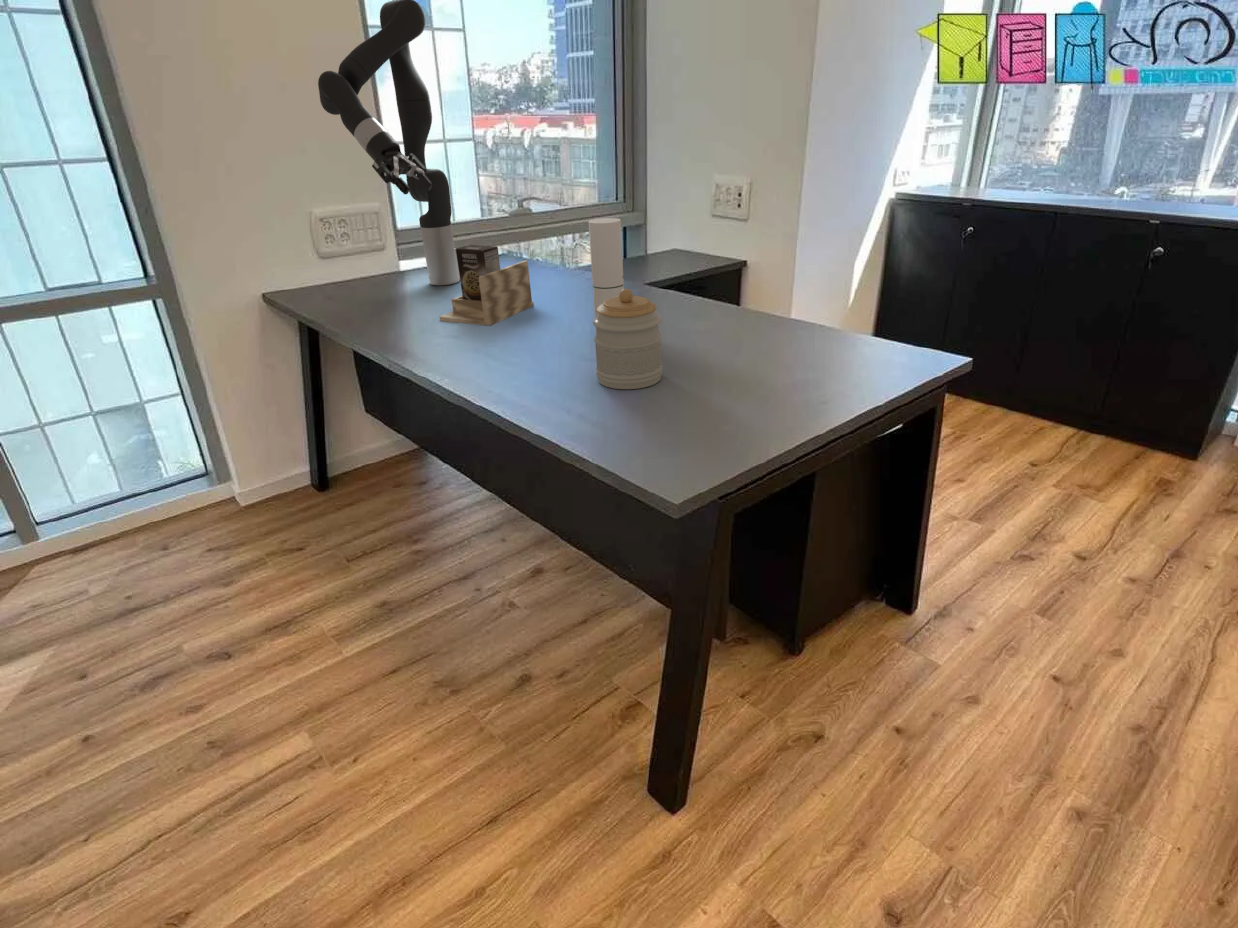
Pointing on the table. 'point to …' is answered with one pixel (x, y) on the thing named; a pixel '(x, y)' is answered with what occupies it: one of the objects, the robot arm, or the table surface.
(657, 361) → the jar
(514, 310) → the holder
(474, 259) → the coffee box
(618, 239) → the cylindrical container
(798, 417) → the table surface
